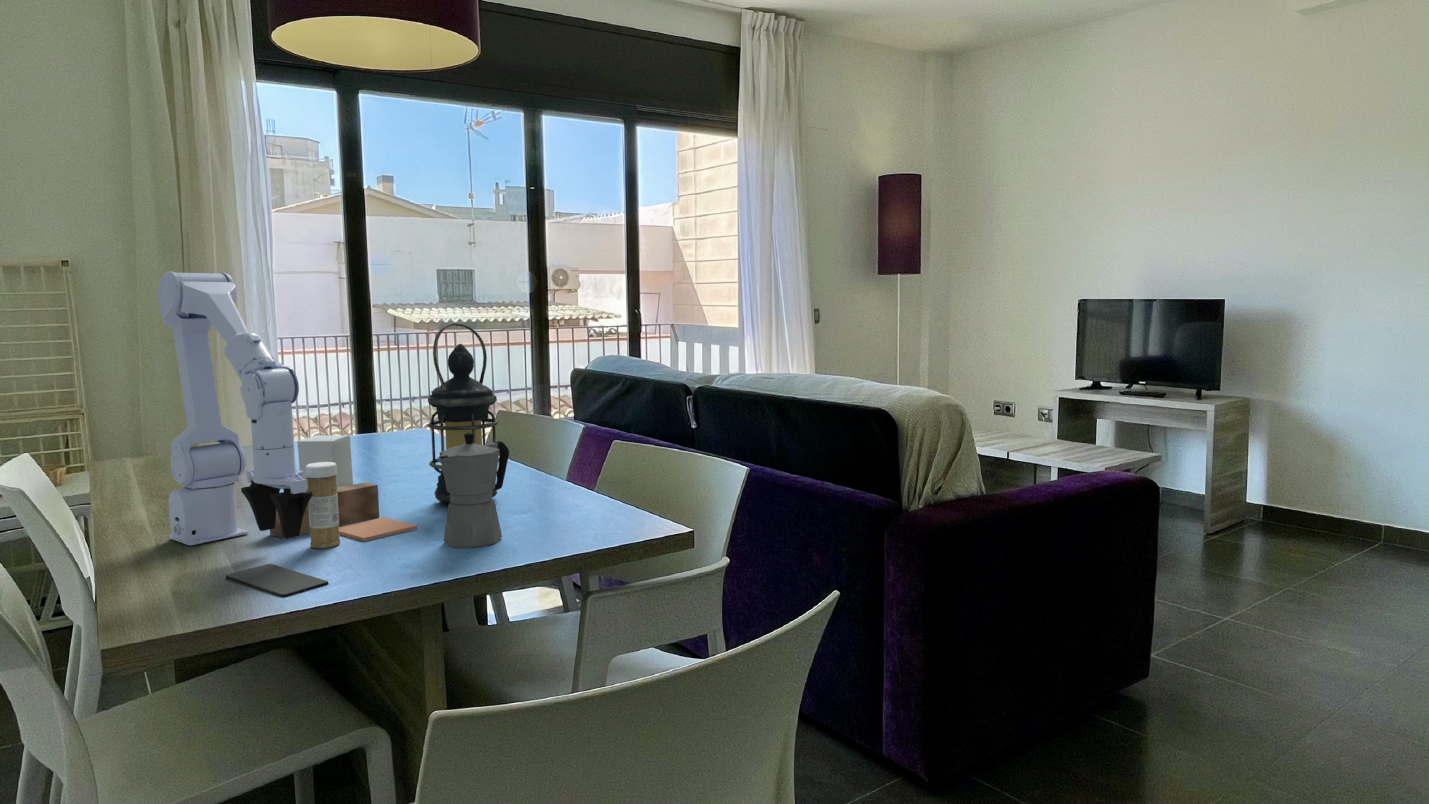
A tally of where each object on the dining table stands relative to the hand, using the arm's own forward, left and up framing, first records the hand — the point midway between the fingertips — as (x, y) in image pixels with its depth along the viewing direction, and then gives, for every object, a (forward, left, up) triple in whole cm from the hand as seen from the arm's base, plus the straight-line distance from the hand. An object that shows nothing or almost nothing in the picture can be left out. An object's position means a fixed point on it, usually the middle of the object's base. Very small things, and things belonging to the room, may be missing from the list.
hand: (279, 533), depth 137 cm
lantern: (+40, +7, -4) cm, 41 cm away
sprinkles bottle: (+7, 0, -4) cm, 8 cm away
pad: (+17, +2, -4) cm, 18 cm away
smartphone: (-7, -12, -4) cm, 14 cm away
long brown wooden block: (+14, +12, -4) cm, 19 cm away
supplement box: (+25, +31, -4) cm, 40 cm away
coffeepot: (+24, -17, -4) cm, 30 cm away
